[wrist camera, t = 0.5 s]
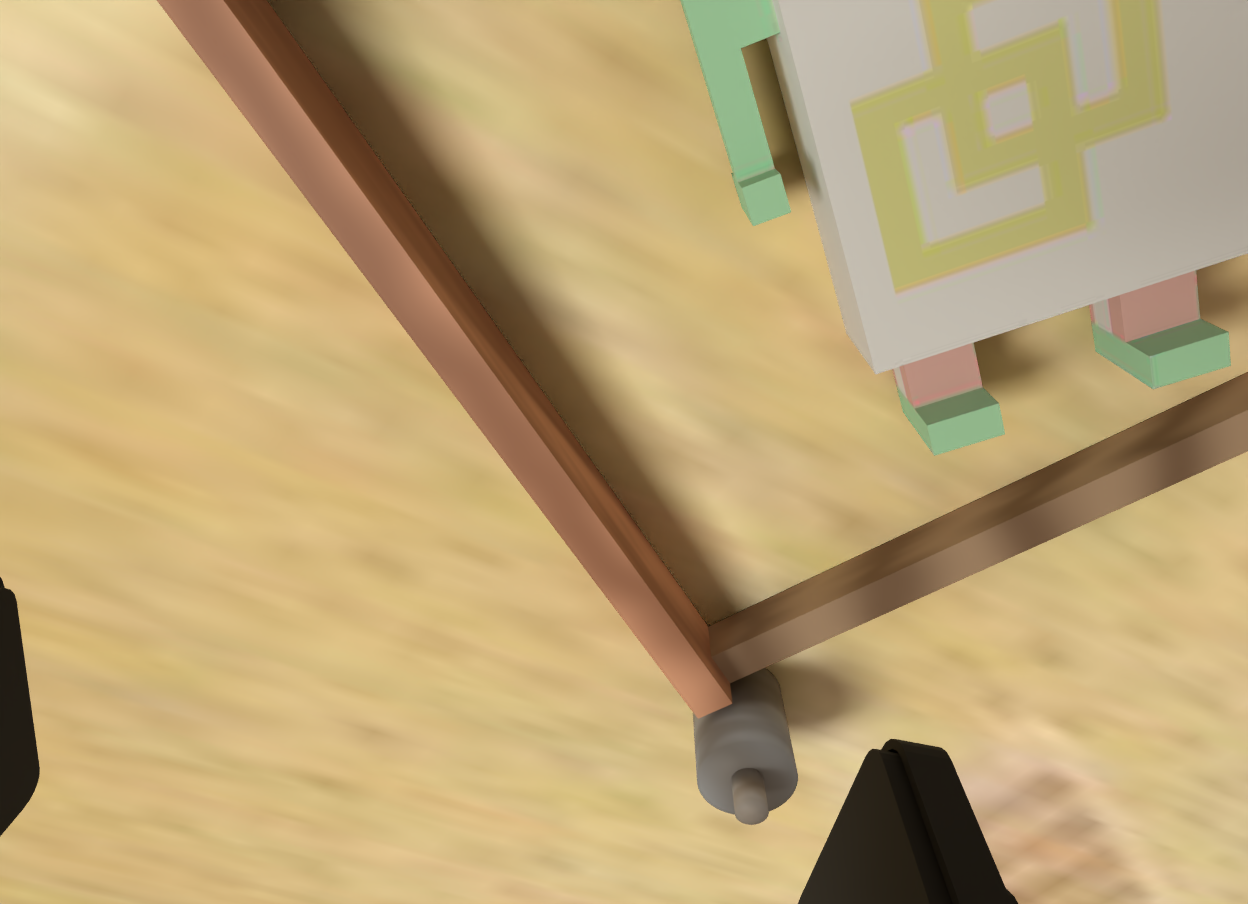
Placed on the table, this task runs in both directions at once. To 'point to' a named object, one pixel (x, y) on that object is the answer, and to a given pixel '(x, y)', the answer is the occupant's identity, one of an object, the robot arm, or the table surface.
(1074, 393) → the table surface
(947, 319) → the decorative block
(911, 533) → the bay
